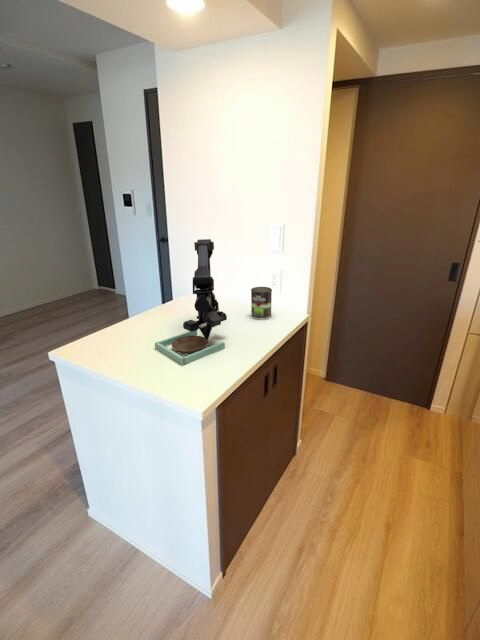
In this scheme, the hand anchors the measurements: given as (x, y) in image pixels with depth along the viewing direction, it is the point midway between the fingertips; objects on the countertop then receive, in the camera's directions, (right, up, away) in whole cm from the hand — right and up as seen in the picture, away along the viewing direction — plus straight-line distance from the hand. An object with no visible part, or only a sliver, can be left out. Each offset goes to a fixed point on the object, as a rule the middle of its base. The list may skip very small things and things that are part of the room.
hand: (206, 339), depth 139 cm
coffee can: (+25, +10, +28) cm, 39 cm away
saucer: (-6, -4, -5) cm, 9 cm away
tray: (-6, -3, -5) cm, 9 cm away
